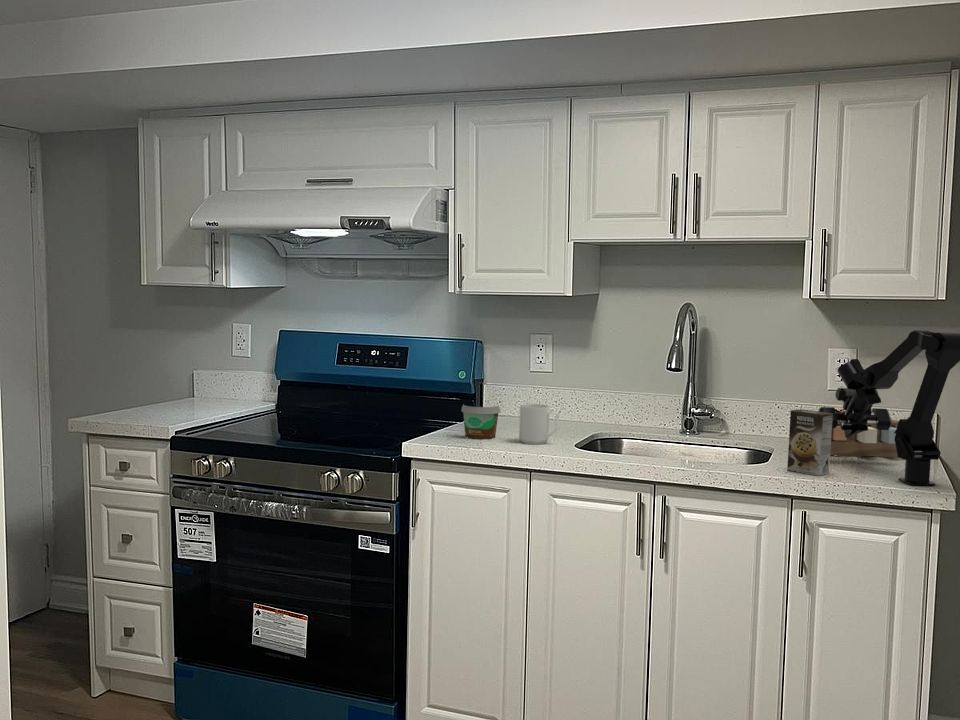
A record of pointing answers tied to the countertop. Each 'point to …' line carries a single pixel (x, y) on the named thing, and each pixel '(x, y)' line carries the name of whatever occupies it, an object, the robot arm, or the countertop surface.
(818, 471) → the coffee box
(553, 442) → the countertop surface
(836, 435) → the key terracotta
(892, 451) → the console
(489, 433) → the food container
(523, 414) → the mug
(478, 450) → the countertop surface
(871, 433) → the key ivory
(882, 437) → the key slate
